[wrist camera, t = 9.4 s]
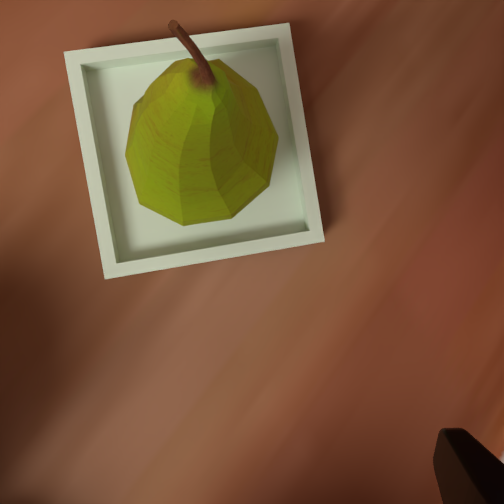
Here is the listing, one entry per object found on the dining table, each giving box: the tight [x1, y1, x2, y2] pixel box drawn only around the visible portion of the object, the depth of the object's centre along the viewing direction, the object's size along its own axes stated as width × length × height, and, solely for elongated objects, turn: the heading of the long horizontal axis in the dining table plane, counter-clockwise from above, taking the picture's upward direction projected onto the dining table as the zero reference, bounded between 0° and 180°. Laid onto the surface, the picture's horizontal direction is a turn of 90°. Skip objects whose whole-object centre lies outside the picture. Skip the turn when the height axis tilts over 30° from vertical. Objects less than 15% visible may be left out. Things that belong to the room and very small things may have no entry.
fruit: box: [125, 20, 279, 226], centre depth 16 cm, size 6×6×12 cm
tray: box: [64, 23, 325, 279], centre depth 21 cm, size 10×10×2 cm
